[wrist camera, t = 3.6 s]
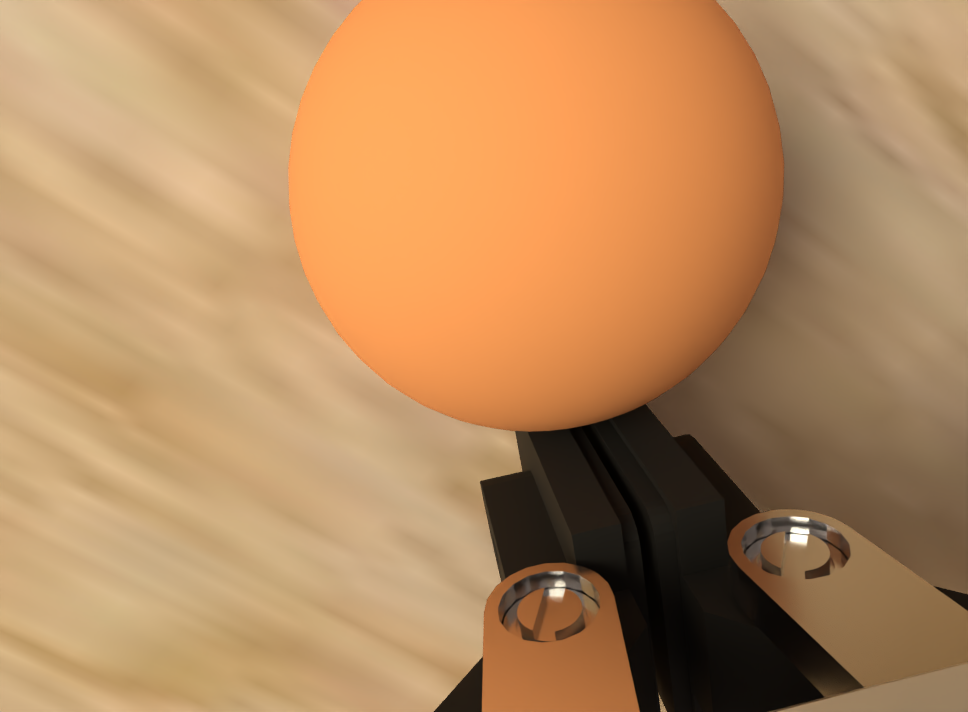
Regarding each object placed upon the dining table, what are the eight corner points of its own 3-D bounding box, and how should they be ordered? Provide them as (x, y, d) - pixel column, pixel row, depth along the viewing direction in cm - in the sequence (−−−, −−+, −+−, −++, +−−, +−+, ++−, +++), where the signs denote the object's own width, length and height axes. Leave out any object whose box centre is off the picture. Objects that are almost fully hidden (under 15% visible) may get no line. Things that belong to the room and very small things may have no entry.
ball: (710, 269, 13) (670, -115, 10) (887, 469, 8) (900, -196, 5) (387, 346, 13) (269, -5, 10) (354, 585, 8) (109, 19, 5)
